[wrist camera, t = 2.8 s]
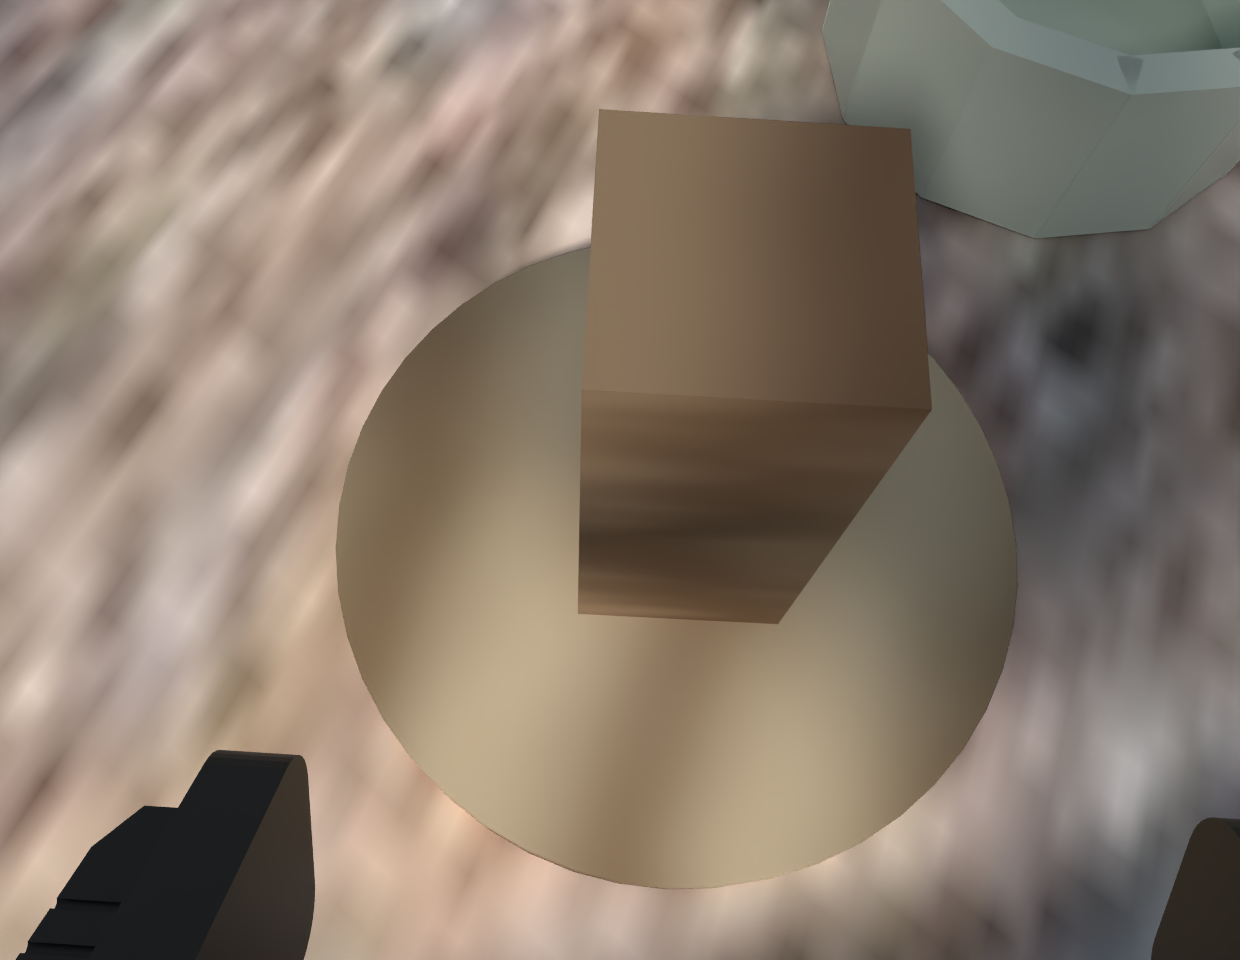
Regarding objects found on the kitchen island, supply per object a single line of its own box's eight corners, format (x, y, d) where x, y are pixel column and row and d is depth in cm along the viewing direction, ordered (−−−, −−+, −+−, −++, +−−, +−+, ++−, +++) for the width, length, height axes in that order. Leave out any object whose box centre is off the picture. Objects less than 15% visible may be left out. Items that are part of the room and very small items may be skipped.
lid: (299, 872, 20) (23, 833, 10) (390, 251, 25) (269, -188, 15) (1027, 905, 21) (1476, 900, 10) (968, 285, 26) (1226, -122, 16)
